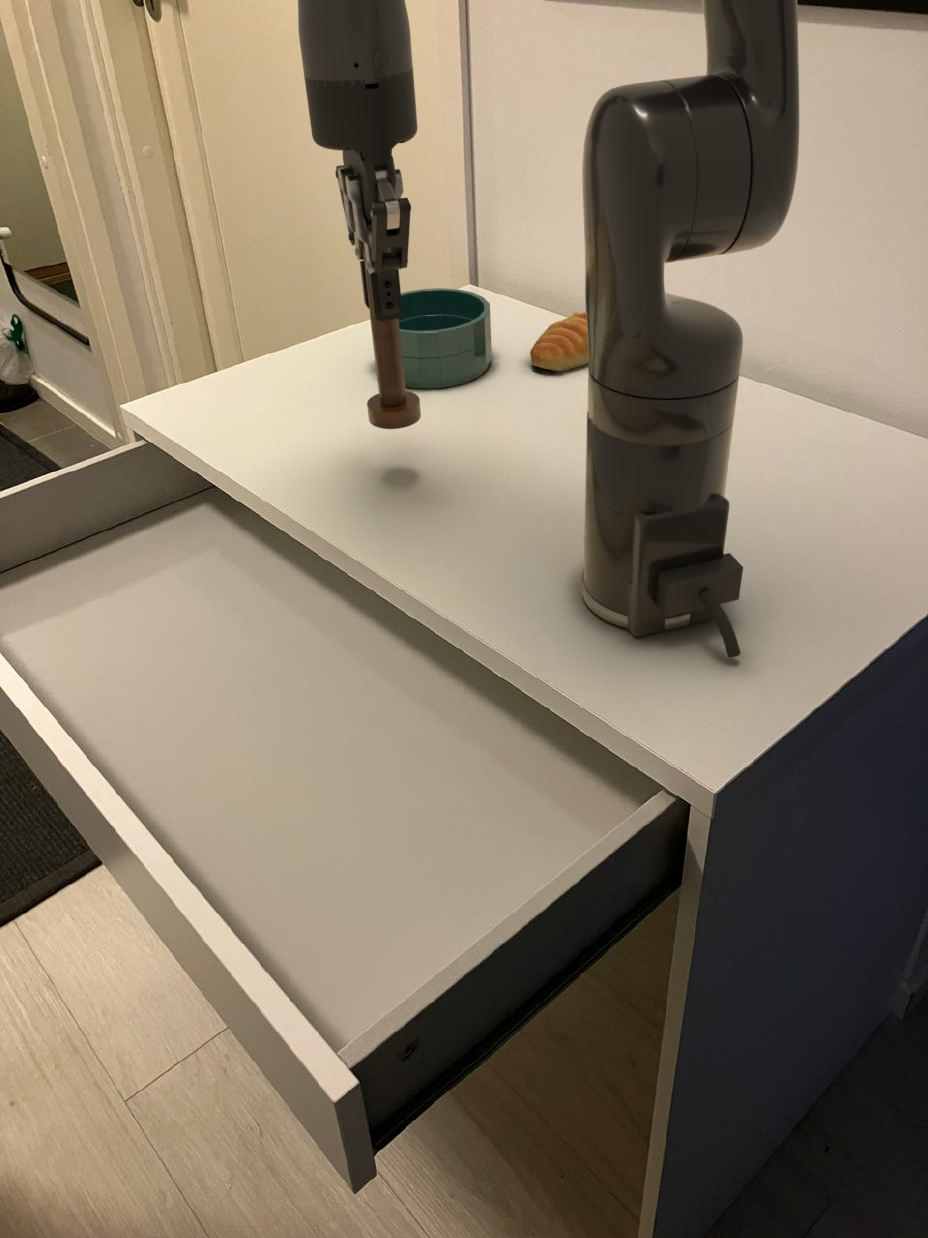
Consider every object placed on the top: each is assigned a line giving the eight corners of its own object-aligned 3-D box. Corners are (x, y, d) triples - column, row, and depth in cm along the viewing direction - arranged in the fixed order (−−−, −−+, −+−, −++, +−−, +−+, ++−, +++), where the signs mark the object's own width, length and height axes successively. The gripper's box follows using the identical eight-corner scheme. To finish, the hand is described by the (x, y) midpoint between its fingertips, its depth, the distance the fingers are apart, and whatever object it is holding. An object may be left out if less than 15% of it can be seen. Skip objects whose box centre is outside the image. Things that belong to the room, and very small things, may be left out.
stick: (427, 423, 84) (412, 251, 76) (376, 433, 83) (355, 260, 75) (412, 402, 88) (397, 236, 79) (363, 411, 87) (342, 244, 78)
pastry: (565, 381, 102) (565, 345, 100) (513, 366, 106) (512, 331, 103) (618, 350, 108) (619, 315, 105) (566, 337, 111) (566, 302, 109)
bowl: (508, 377, 104) (506, 320, 100) (392, 398, 101) (386, 340, 98) (471, 334, 113) (468, 281, 109) (365, 353, 110) (358, 299, 107)
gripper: (286, 58, 74) (319, 293, 85) (325, 87, 64) (357, 351, 74) (385, 47, 76) (406, 279, 86) (439, 73, 65) (455, 334, 76)
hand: (383, 311), depth 80 cm, fingers closed on stick, 2 cm apart
